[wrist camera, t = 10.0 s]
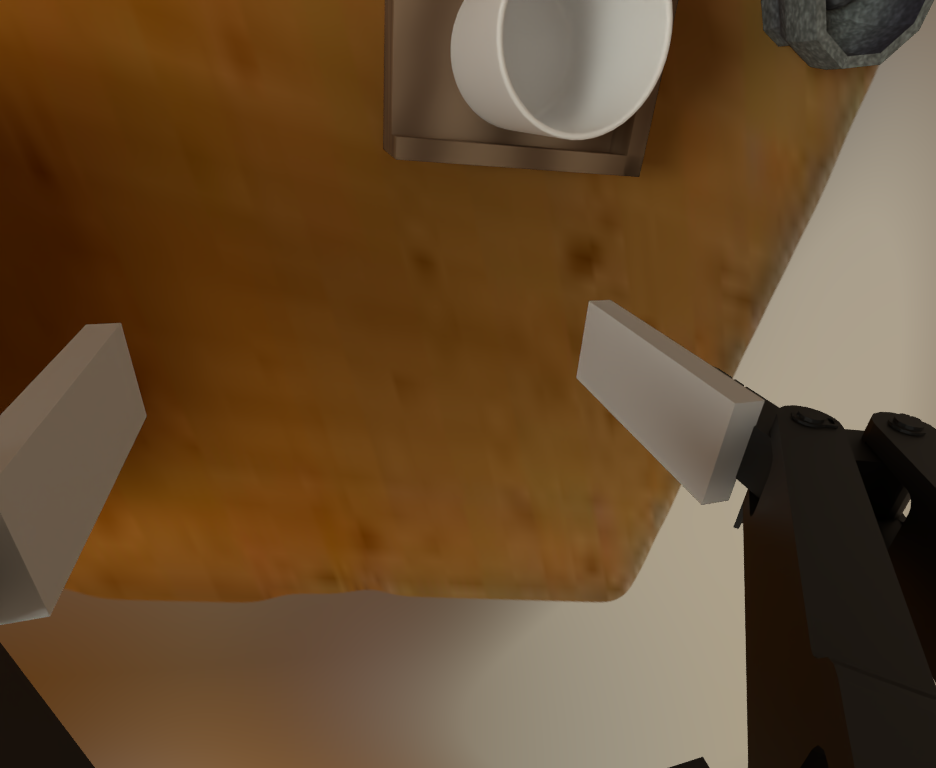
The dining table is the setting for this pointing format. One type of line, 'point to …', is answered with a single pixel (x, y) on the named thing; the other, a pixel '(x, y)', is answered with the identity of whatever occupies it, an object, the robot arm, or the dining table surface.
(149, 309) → the dining table surface
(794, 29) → the mortar and pestle
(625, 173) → the shelf
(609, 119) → the mug
